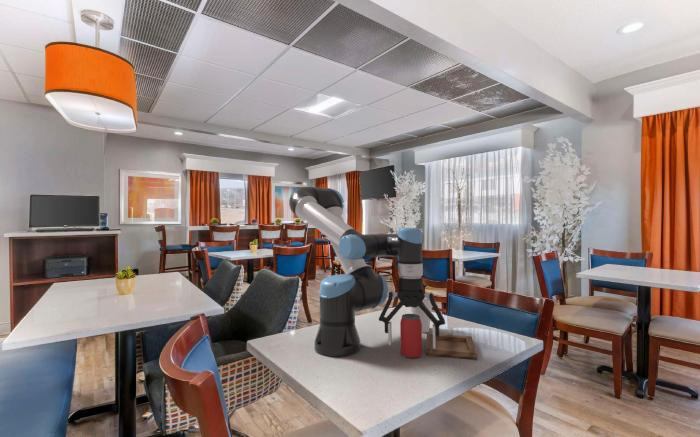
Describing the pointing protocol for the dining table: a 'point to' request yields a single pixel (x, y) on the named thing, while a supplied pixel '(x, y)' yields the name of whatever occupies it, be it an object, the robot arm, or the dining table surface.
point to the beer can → (411, 335)
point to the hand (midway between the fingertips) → (411, 345)
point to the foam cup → (423, 314)
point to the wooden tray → (451, 346)
